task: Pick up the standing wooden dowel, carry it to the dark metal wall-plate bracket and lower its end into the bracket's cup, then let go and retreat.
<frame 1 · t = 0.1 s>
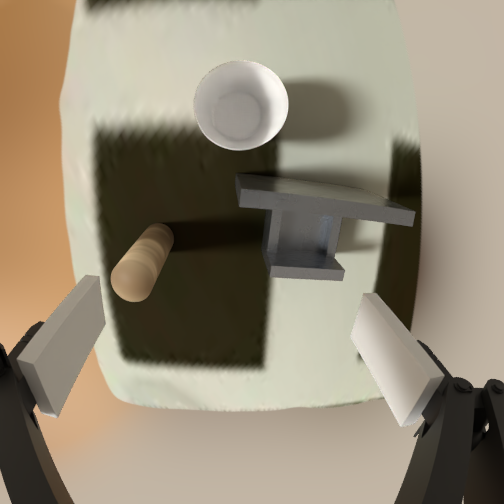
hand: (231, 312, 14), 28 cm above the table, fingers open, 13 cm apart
wooden dowel: (158, 238, 41), on the table
cup: (236, 115, 37), on the table
bracket: (297, 221, 42), on the table
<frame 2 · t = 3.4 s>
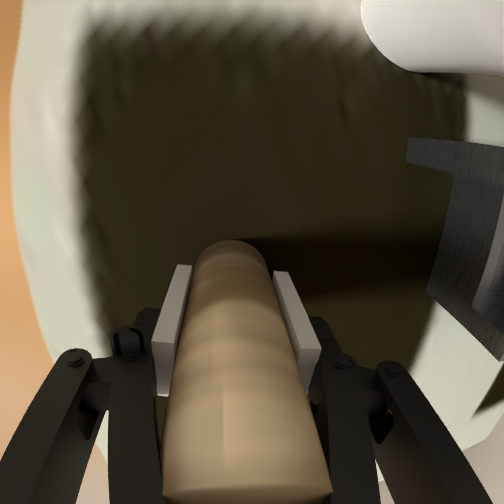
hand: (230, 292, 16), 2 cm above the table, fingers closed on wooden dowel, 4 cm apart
wooden dowel: (230, 275, 18), on the table, touching gripper
cup: (403, 27, 13), on the table
bracket: (478, 239, 19), on the table
when the fingers open (7 cm above the table, at t = 8.8 s): wooden dowel stays where it is, resting on bracket.
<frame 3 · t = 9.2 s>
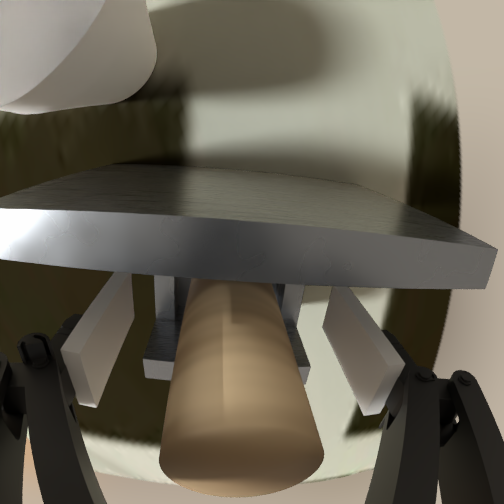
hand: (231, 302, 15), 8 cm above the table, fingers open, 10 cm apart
wooden dowel: (229, 265, 20), point 3 cm above the table, touching bracket
cup: (114, 62, 17), on the table
bracket: (229, 249, 22), on the table
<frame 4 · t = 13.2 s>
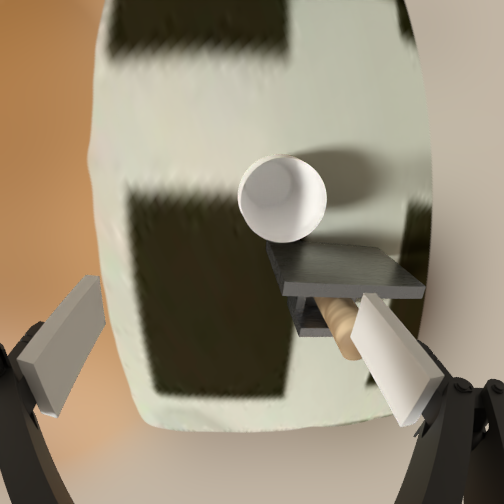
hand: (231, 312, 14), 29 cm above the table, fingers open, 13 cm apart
wooden dowel: (325, 287, 44), point 3 cm above the table, touching bracket
cup: (268, 184, 41), on the table
bracket: (319, 278, 46), on the table
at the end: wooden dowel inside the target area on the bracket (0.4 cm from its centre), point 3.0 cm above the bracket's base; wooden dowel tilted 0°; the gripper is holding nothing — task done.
